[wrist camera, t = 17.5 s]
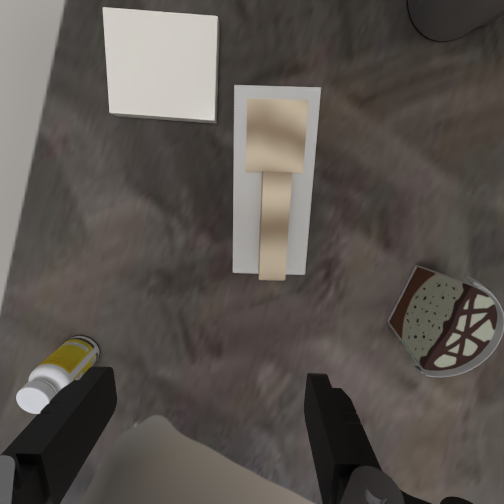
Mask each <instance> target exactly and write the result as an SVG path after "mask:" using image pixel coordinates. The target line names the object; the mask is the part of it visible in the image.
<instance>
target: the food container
mask: <svg viewBox="0 0 504 504" xmlns="http://www.w3.org/2000/svg"><path fill="white" fill-rule="evenodd" d="M465 277H466V278H467V279H468V280H469V281H471V282H472V284H470V283H468V282H465V281H462V280H459V279H456V278H453V277H450V276H448V275H445V274H442V273H439V272H436V271H433V270H431V269H428V268H425V267H422V266H419V265H415V267H414V269H413V271H412V273H411V275H410V277H409V279H408V281H407V283H406V285H405V287H404V289H403V291H402V293H401V295H400V297H399V299H398V301H397V303H396V305H395V306H394V308H393V310H392V312H391V314H390V316H389V318H388V320H387V323H388V324H389V325H390V327H391V328H392V330H393V331H394V333H395V334H396V335H397V337H398V338H399V340H400V341H401V342H402V344H403V345H404V347H405V348H406V349H407V351H408V352H409V354H410V355H411V356H412V358H413V359H414V361H415V362H416V364H417V365H418V366H419V367H418V366H413V367H414V368H415V369H416V370H418V371H419V372H420V373H423V374H425V375H426V376H431V377H450V376H455V375H459V374H462V373H465V372H467V371H469V370H471V369H473V368H475V367H477V366H478V365H480V364H481V363H482V362H484V361H485V360H486V359H487V358H488V357H489V356H490V355H491V354H492V353H493V352H494V350H495V349H496V348H497V346H498V344H499V342H500V341H501V338H502V335H503V332H504V313H503V310H502V307H501V305H500V304H499V302H498V301H497V299H496V298H495V296H494V295H493V294H492V293H491V292H490V291H489V290H488V289H487V288H485V287H484V286H483V285H482V284H480V283H479V282H478V281H476V280H474V279H473V278H471V277H468V276H466V275H465Z"/></svg>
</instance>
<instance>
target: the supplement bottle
mask: <svg viewBox="0 0 504 504" xmlns="http://www.w3.org/2000/svg"><path fill="white" fill-rule="evenodd" d="M99 354H100V353H99V348H98V346H97V344H96V343H95V342H94V341H93V340H91V339H90V338H87V337H84V336H75V337H72V338H70V339H69V340H67V341H66V342H65V343H64V344H62V345H61V346H60V347H59V348H58V349H57V350H56V351H55V352H53V353H52V354H51V355H50V356H49V357H48V358H47V359H45V360H44V361H43V362H42V363H41V364H40V365H39V366H38V367H36V368H35V369H34V370H33V372H32V373H31V374H30V377H29V382H28V383H27V384H26V385H25V386H24V387H23V388H22V389H20V390H19V392H18V393H17V396H16V400H17V403H18V404H19V406H20V407H21V408H22V409H23V410H25V411H27V412H29V413H33V414H40V411H41V410H42V409H43V408H44V407H45V406H46V405H47V404H49V402H50V400H51V399H52V398H53V397H54V396H55V395H56V394H57V393H58V392H59V391H60V390H61V389H62V388H64V387H65V386H66V385H68V384H69V383H71V382H72V381H74V380H79V379H80V378H81V377H82V376H83V375H84V373H85V372H86V371H87V370H88V369H89V368H90V367H92V366H93V365H94V364H95V363H96V361H97V360H98V358H99Z"/></svg>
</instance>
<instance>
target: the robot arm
mask: <svg viewBox="0 0 504 504" xmlns="http://www.w3.org/2000/svg"><path fill="white" fill-rule="evenodd" d="M408 8H409V13H410V16H411V19H412V21H413V23H414V25H415V27H416V28H417V29H418V30H419V31H420V32H421V33H422V34H423V35H424V36H426V37H428V38H429V39H432V40H436V41H451V40H455V39H458V38H460V37H462V36H464V35H466V34H467V33H469V32H470V31H472V30H473V29H475V28H476V27H479V26H487V25H488V24H490V23H491V22H493V21H494V20H496V19H497V18H499V17H501V16H502V15H504V0H408ZM116 403H117V394H116V386H115V379H114V372H113V369H112V368H111V367H90V368H89V369H88V370H87V371H86V372H85V373H84V375H83V376H82V377H81V378H80V379H79V380H74V381H72V382H71V383H69V384H68V385H66V386H65V387H64V388H62V389H61V390H60V391H59V392H58V393H57V394H56V395H55V396H54V397H53V398H52V399H51V400H50V402H49V404H47V405H46V406H45V407H44V408H43V409H42V410H41V411H40V414H38V415H37V416H36V417H35V418H34V419H33V420H32V421H31V422H30V423H29V425H28V426H27V427H26V428H25V429H24V430H23V431H22V432H21V433H20V434H19V436H18V437H17V438H16V439H15V440H14V441H13V442H12V443H11V444H10V445H9V446H8V448H7V449H6V450H5V451H4V452H3V453H2V454H1V455H0V504H60V502H61V501H62V499H63V497H64V496H65V494H66V492H67V491H68V489H69V487H70V486H71V484H72V482H73V481H74V479H75V477H76V476H77V474H78V472H79V470H80V469H81V467H82V465H83V464H84V462H85V460H86V459H87V457H88V455H89V454H90V452H91V450H92V449H93V447H94V445H95V444H96V442H97V440H98V439H99V437H100V435H101V434H102V432H103V430H104V428H105V427H106V425H107V423H108V422H109V420H110V418H111V417H112V415H113V413H114V411H115V408H116ZM304 414H305V422H306V426H307V431H308V436H309V441H310V445H311V450H312V455H313V460H314V464H315V469H316V474H317V479H318V484H319V488H320V493H321V498H322V503H323V504H431V503H429V502H426V501H423V500H420V499H418V498H415V497H413V496H410V495H408V494H406V493H405V492H403V491H401V490H400V489H399V487H398V486H397V485H396V483H395V482H394V481H393V480H392V479H391V478H390V477H389V476H388V475H387V474H386V473H384V472H383V471H382V469H381V467H380V465H379V463H378V461H377V458H376V456H375V454H374V452H373V449H372V447H371V445H370V442H369V440H368V438H367V435H366V433H365V431H364V429H363V426H362V424H361V422H360V419H359V417H358V415H357V414H356V410H355V408H354V406H353V403H352V401H351V399H350V398H349V397H348V395H347V394H346V393H345V392H344V391H343V390H342V389H341V388H332V386H331V384H330V381H329V378H328V376H327V374H316V373H308V374H307V381H306V391H305V401H304ZM440 504H473V503H471V502H469V501H467V500H465V499H462V498H459V497H446V498H444V499H443V500H442V501H441V503H440Z"/></svg>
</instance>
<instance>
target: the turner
mask: <svg viewBox="0 0 504 504" xmlns="http://www.w3.org/2000/svg"><path fill="white" fill-rule="evenodd" d="M308 103H309V100H282V99H251V98H247V135H246V172H262V181H261V207H260V232H259V258H258V268H259V280H283V281H285V273H286V259H287V244H288V230H289V215H290V201H291V186H292V173H299V174H303V166H304V154H305V141H306V128H307V116H308Z"/></svg>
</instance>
